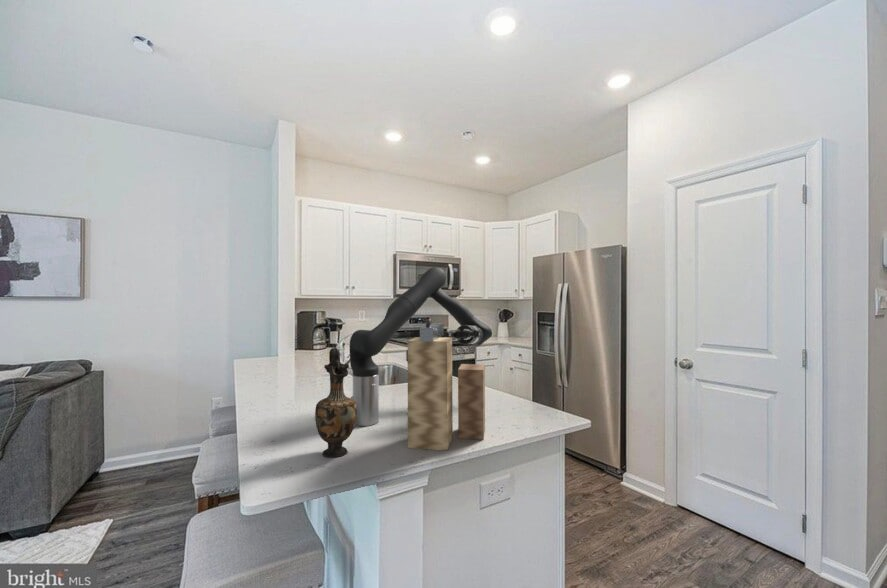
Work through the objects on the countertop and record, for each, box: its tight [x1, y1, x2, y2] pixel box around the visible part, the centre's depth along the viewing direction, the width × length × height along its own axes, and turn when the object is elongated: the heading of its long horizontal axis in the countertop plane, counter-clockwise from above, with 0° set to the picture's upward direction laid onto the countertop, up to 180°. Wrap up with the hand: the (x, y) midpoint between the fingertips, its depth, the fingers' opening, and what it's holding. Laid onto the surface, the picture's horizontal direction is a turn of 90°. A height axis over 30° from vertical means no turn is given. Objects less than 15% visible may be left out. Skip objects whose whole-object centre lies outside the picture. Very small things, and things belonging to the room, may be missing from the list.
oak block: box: [407, 336, 454, 451], centre depth 120 cm, size 12×11×32 cm
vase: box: [314, 347, 357, 459], centre depth 112 cm, size 12×12×30 cm
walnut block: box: [457, 363, 486, 441], centre depth 127 cm, size 8×10×22 cm
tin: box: [419, 318, 445, 342], centre depth 123 cm, size 4×20×6 cm, turn 171°
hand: (453, 334), depth 137 cm, fingers open, 8 cm apart
